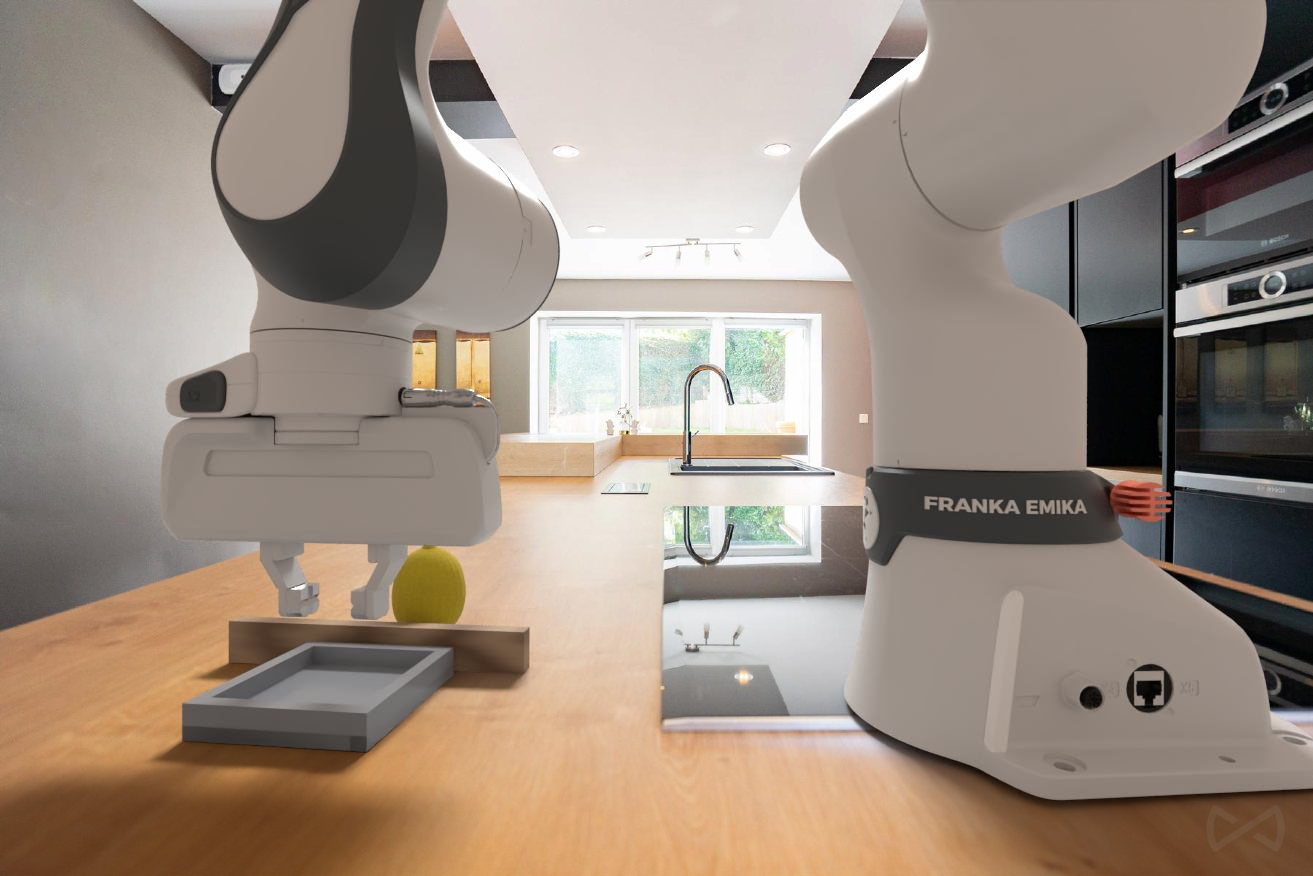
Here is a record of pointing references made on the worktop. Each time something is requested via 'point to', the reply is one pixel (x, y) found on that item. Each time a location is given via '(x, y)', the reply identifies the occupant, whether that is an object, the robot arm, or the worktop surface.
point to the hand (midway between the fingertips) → (334, 616)
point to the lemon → (429, 588)
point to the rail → (383, 640)
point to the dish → (320, 696)
